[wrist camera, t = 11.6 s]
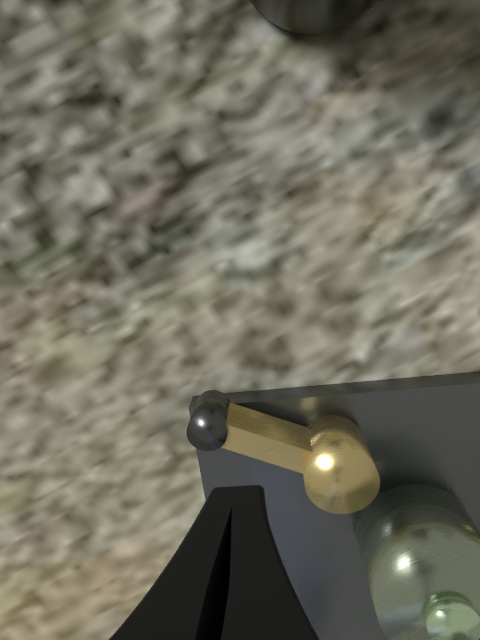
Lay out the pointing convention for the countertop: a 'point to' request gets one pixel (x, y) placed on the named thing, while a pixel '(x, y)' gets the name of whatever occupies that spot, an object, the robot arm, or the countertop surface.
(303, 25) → the supplement bottle
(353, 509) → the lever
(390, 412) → the plate
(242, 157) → the countertop surface
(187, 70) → the countertop surface
